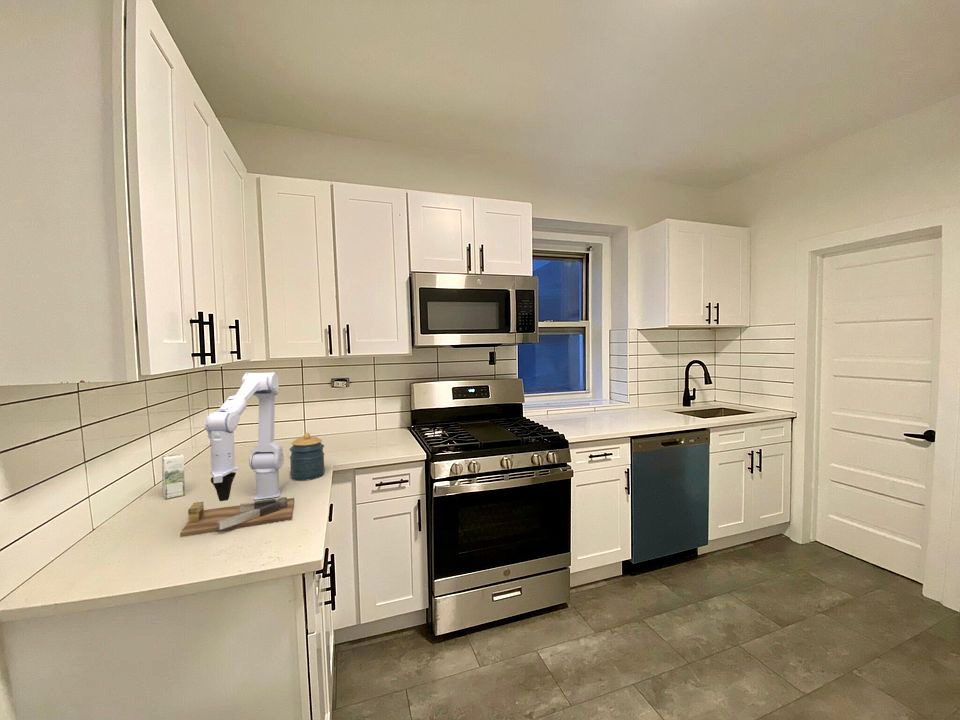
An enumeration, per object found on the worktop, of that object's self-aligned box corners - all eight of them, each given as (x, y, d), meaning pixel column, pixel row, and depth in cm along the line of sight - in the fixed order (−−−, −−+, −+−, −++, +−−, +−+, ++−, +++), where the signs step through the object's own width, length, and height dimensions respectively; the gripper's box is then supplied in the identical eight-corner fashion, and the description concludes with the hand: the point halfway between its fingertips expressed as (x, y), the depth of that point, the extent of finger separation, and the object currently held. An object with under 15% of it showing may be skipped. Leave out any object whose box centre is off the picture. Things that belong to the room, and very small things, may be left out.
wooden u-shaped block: (194, 515, 122) (193, 502, 122) (203, 514, 123) (203, 501, 123) (188, 523, 117) (188, 509, 117) (198, 521, 118) (198, 508, 118)
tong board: (196, 514, 126) (195, 503, 126) (294, 501, 137) (293, 490, 137) (180, 537, 111) (179, 523, 111) (291, 519, 122) (291, 507, 122)
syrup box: (182, 491, 147) (181, 452, 147) (185, 495, 143) (184, 455, 142) (162, 495, 143) (161, 455, 143) (165, 500, 139) (163, 458, 138)
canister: (286, 482, 156) (285, 437, 156) (294, 472, 169) (293, 430, 168) (321, 479, 159) (320, 435, 158) (327, 469, 172) (326, 429, 171)
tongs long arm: (217, 528, 113) (216, 521, 113) (276, 508, 127) (276, 502, 127) (219, 530, 112) (219, 522, 112) (279, 509, 126) (279, 503, 126)
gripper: (234, 458, 110) (235, 507, 111) (243, 446, 124) (244, 489, 124) (203, 461, 108) (205, 511, 108) (216, 448, 121) (217, 493, 122)
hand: (224, 500), depth 116 cm, fingers closed
